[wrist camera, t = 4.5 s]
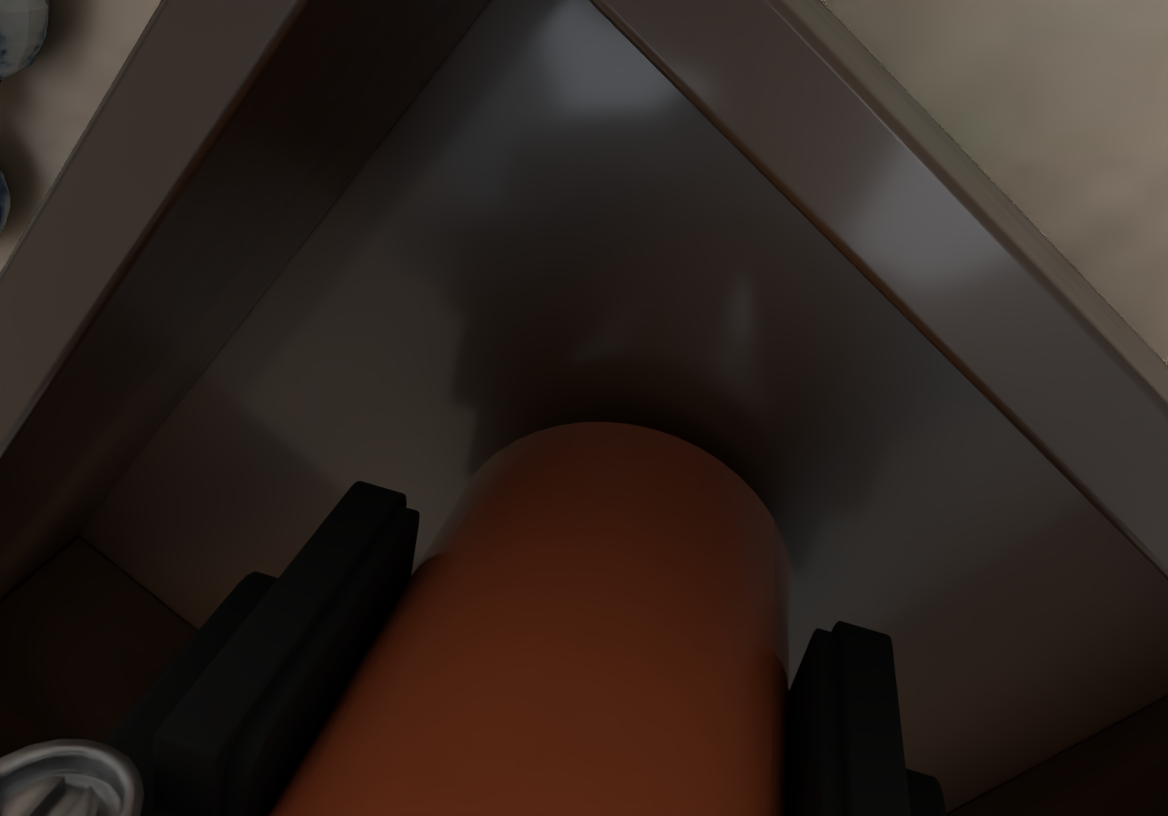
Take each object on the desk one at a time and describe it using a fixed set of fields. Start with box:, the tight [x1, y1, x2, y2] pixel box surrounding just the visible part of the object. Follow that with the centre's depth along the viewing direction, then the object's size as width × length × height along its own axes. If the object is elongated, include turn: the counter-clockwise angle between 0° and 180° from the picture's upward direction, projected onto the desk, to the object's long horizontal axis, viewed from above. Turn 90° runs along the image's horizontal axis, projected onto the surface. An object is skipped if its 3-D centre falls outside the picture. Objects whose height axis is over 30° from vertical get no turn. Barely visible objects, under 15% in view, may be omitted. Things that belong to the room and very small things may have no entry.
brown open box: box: [0, 0, 1168, 816], centre depth 12 cm, size 14×14×6 cm
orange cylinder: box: [268, 421, 792, 816], centre depth 10 cm, size 4×4×7 cm
